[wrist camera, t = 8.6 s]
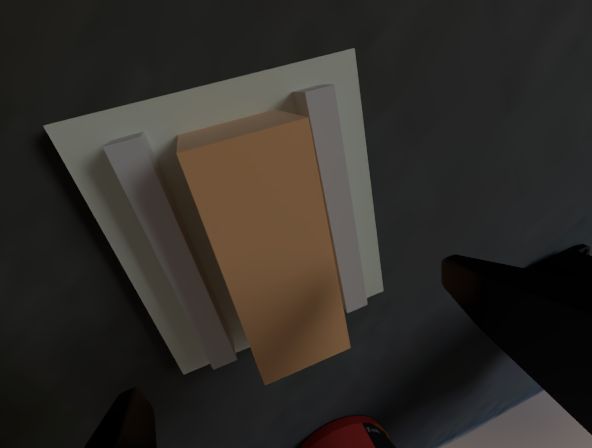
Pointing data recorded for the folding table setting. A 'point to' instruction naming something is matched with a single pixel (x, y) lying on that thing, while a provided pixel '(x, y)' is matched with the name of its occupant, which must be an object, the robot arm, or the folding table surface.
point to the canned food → (350, 434)
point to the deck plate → (181, 206)
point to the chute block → (269, 236)
